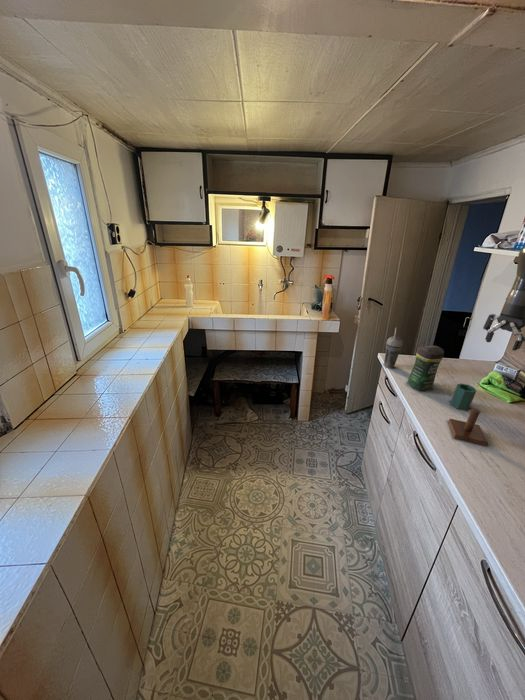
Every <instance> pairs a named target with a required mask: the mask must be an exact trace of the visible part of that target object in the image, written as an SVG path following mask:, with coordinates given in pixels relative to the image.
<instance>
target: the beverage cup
mask: <svg viewBox="0 0 525 700" xmlns="http://www.w3.org/2000/svg"><path fill="white" fill-rule="evenodd" d="M403 343H404V342H403V340H402V338H401V337H400V336H397V327H395V328H394V335H393V336H390V337H389V338H388V339H387V340H386V343H385V354H384V360H383V366H384V367H385V368H387V369H395V368H394V367H395V365H396V363H397V360H398V357H399V355H400V352H401V350H402V348H403Z"/></svg>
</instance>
